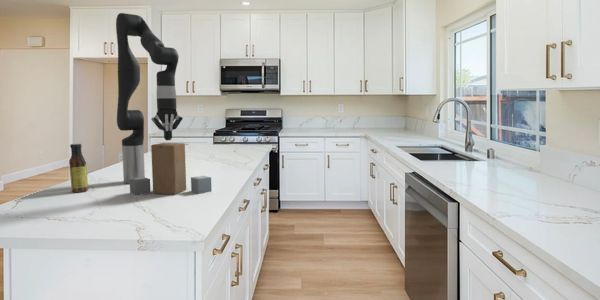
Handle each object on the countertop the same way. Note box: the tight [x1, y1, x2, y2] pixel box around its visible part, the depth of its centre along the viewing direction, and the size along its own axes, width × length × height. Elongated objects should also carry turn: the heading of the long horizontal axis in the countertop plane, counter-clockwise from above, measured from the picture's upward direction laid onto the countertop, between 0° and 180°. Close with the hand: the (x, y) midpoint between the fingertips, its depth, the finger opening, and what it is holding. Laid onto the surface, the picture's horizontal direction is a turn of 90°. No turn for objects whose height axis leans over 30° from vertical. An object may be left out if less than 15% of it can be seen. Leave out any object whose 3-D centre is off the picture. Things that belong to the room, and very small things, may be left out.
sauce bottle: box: [68, 143, 89, 193], centre depth 177 cm, size 6×6×20 cm
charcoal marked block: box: [129, 176, 151, 196], centre depth 174 cm, size 6×6×6 cm
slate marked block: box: [190, 175, 212, 194], centre depth 177 cm, size 6×6×6 cm
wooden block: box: [150, 142, 187, 196], centre depth 175 cm, size 10×10×20 cm
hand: (168, 140), depth 174 cm, fingers closed
